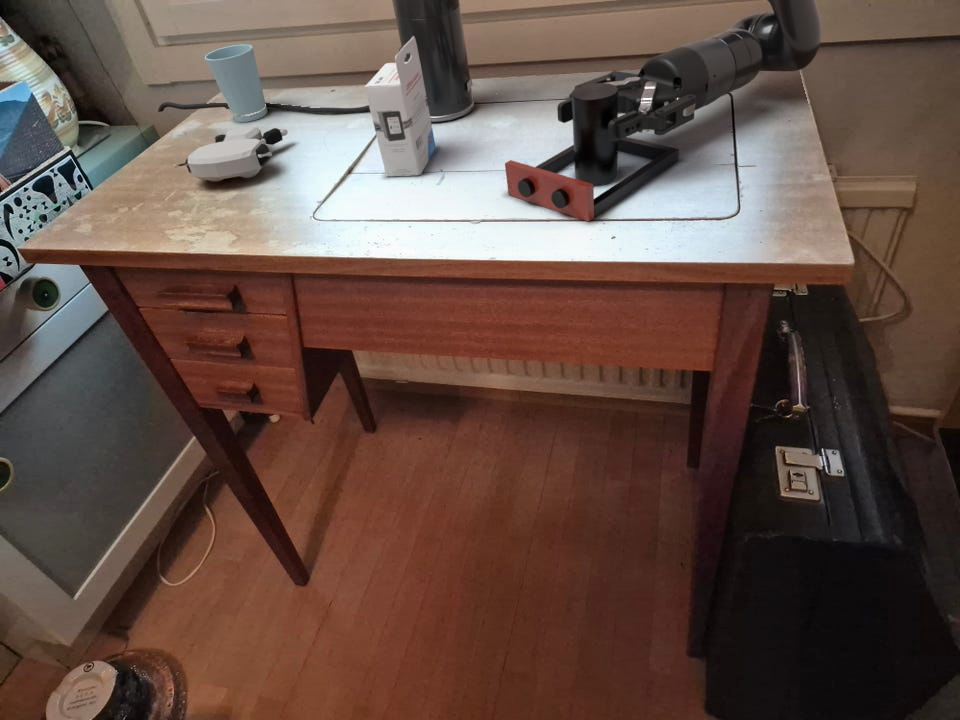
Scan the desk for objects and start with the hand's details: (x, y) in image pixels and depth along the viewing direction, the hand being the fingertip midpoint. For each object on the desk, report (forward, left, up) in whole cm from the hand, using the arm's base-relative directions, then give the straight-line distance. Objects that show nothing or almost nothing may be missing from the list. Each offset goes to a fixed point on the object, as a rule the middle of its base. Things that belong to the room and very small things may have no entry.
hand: (584, 122), depth 73 cm
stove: (0, +2, -7) cm, 7 cm away
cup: (-65, -9, -7) cm, 66 cm away
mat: (-14, +26, -7) cm, 30 cm away
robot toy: (-46, -21, -7) cm, 51 cm away
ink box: (-24, -7, -7) cm, 26 cm away
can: (0, +2, -7) cm, 7 cm away
